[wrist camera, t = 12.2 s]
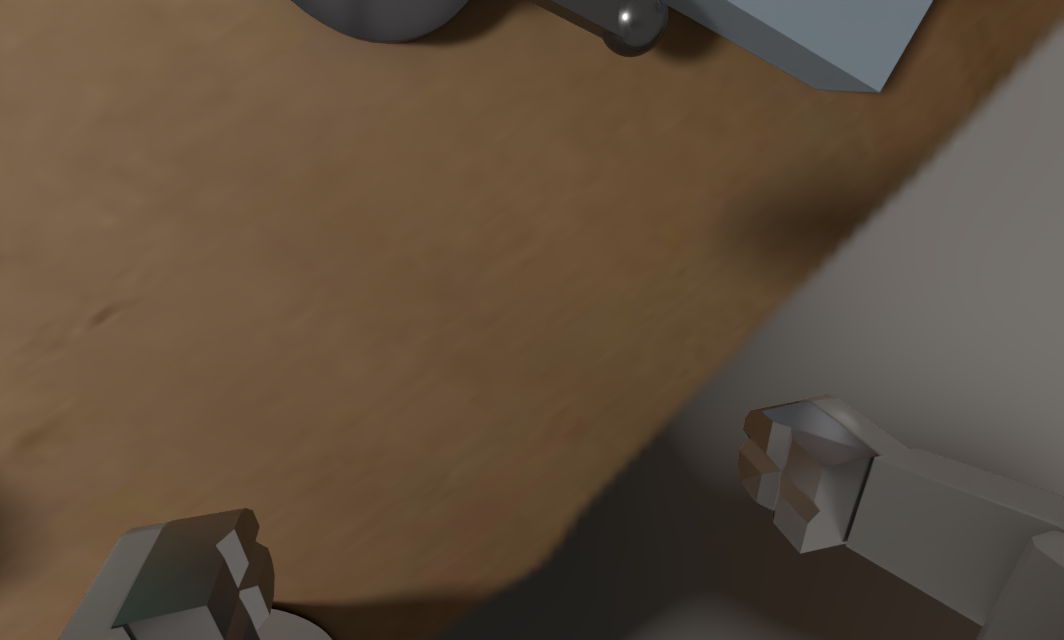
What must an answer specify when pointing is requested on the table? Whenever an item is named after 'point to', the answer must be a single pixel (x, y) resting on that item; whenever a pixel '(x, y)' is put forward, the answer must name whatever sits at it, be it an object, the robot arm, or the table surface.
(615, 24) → the brass knob crank
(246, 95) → the table surface
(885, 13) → the slot block
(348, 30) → the crank base
